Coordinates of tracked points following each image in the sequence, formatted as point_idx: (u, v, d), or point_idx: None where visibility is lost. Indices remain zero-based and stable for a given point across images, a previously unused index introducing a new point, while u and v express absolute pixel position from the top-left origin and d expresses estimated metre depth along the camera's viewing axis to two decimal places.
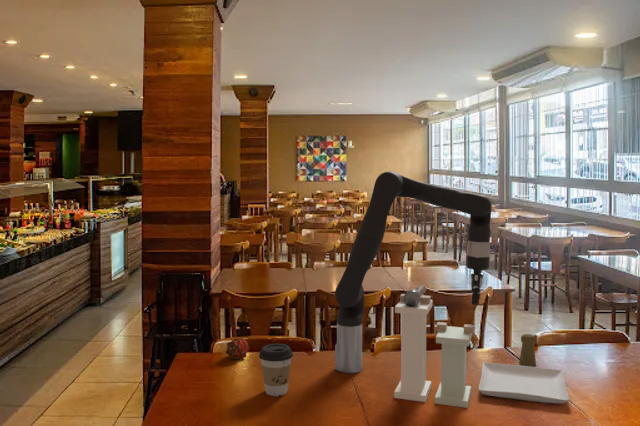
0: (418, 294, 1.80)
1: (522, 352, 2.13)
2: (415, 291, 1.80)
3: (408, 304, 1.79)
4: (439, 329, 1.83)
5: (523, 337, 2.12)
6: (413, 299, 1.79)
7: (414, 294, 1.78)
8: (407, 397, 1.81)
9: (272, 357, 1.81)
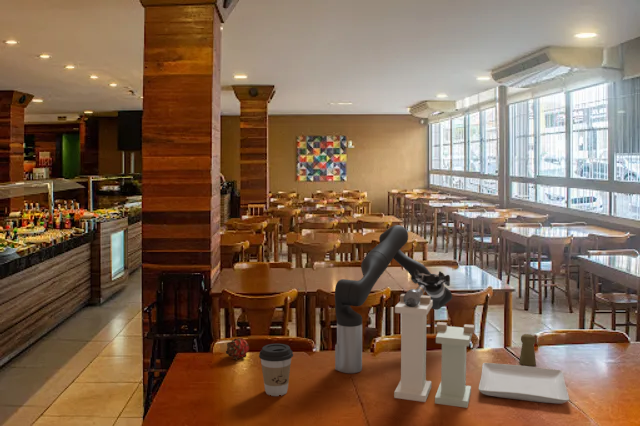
0: (418, 294, 1.80)
1: (522, 352, 2.13)
2: (415, 291, 1.80)
3: (408, 304, 1.79)
4: (439, 329, 1.83)
5: (523, 337, 2.12)
6: (413, 299, 1.79)
7: (414, 294, 1.78)
8: (407, 397, 1.81)
9: (272, 357, 1.81)
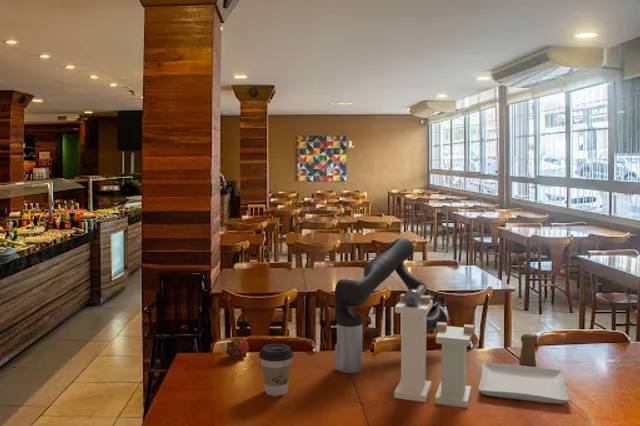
0: (418, 294, 1.80)
1: (522, 352, 2.13)
2: (415, 291, 1.80)
3: (408, 304, 1.79)
4: (439, 329, 1.83)
5: (523, 337, 2.12)
6: (413, 299, 1.79)
7: (414, 294, 1.78)
8: (407, 397, 1.81)
9: (272, 357, 1.81)
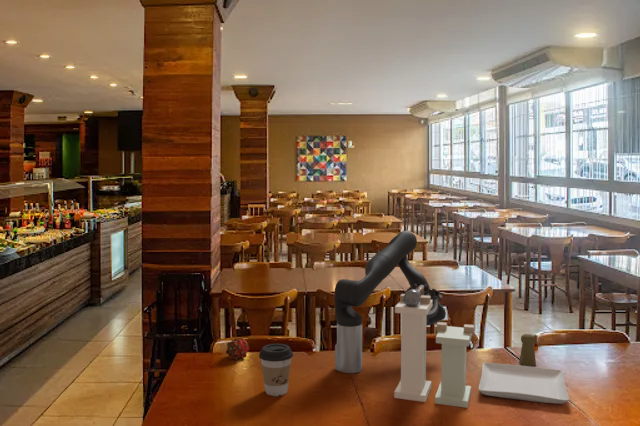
0: (418, 294, 1.80)
1: (522, 352, 2.13)
2: (415, 291, 1.80)
3: (408, 304, 1.79)
4: (439, 329, 1.83)
5: (523, 337, 2.12)
6: (413, 299, 1.79)
7: (414, 294, 1.78)
8: (407, 397, 1.81)
9: (272, 357, 1.81)
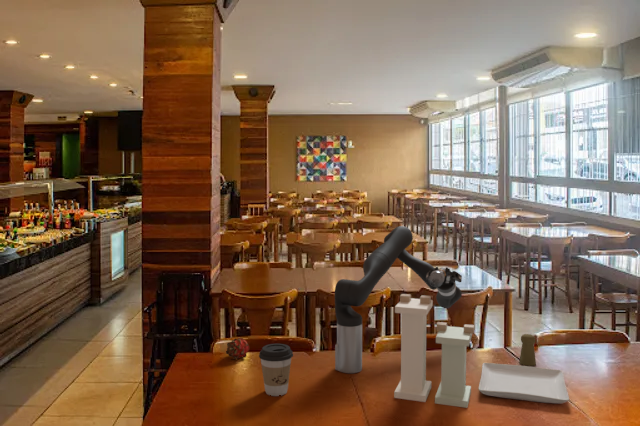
0: (442, 275, 1.91)
1: (522, 352, 2.13)
2: (439, 272, 1.92)
3: (433, 284, 1.91)
4: (439, 329, 1.83)
5: (523, 337, 2.12)
6: (438, 279, 1.90)
7: (439, 275, 1.90)
8: (407, 397, 1.81)
9: (272, 357, 1.81)
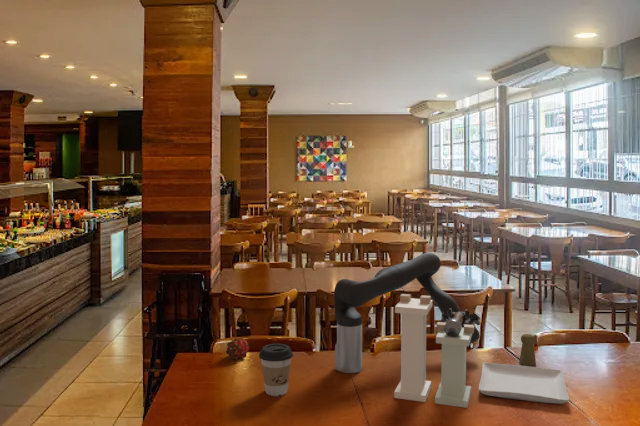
0: (459, 323, 1.76)
1: (522, 352, 2.13)
2: (456, 320, 1.77)
3: (449, 334, 1.76)
4: (439, 329, 1.83)
5: (523, 337, 2.12)
6: (454, 328, 1.75)
7: (455, 324, 1.75)
8: (407, 397, 1.81)
9: (272, 357, 1.81)
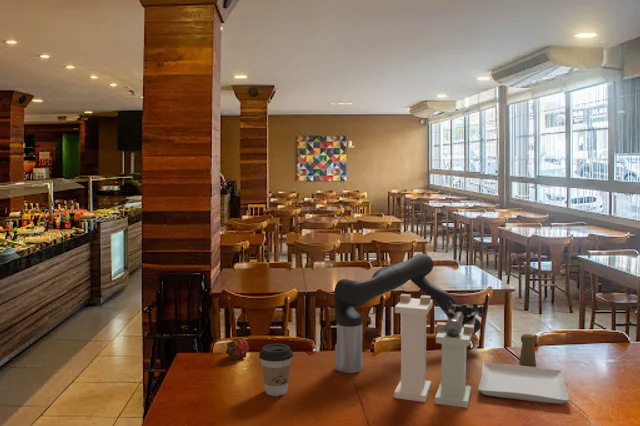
0: (459, 324, 1.76)
1: (522, 352, 2.13)
2: (456, 321, 1.77)
3: (449, 334, 1.76)
4: (439, 329, 1.83)
5: (523, 337, 2.12)
6: (455, 329, 1.75)
7: (456, 324, 1.75)
8: (407, 397, 1.81)
9: (272, 357, 1.81)
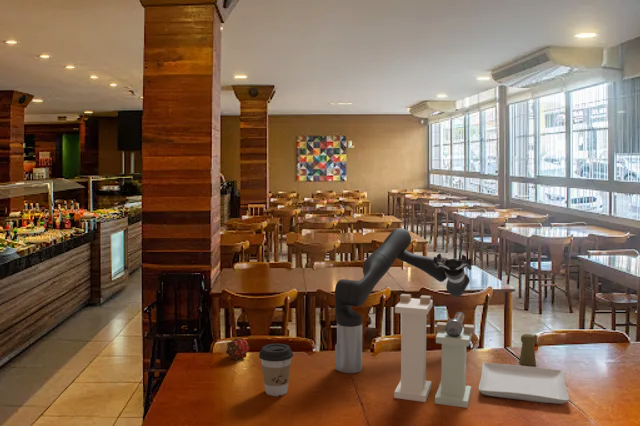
0: (461, 325, 1.76)
1: (522, 352, 2.13)
2: (458, 321, 1.76)
3: (450, 334, 1.76)
4: (439, 329, 1.83)
5: (523, 337, 2.12)
6: (456, 329, 1.75)
7: (457, 324, 1.75)
8: (407, 397, 1.81)
9: (272, 357, 1.81)
